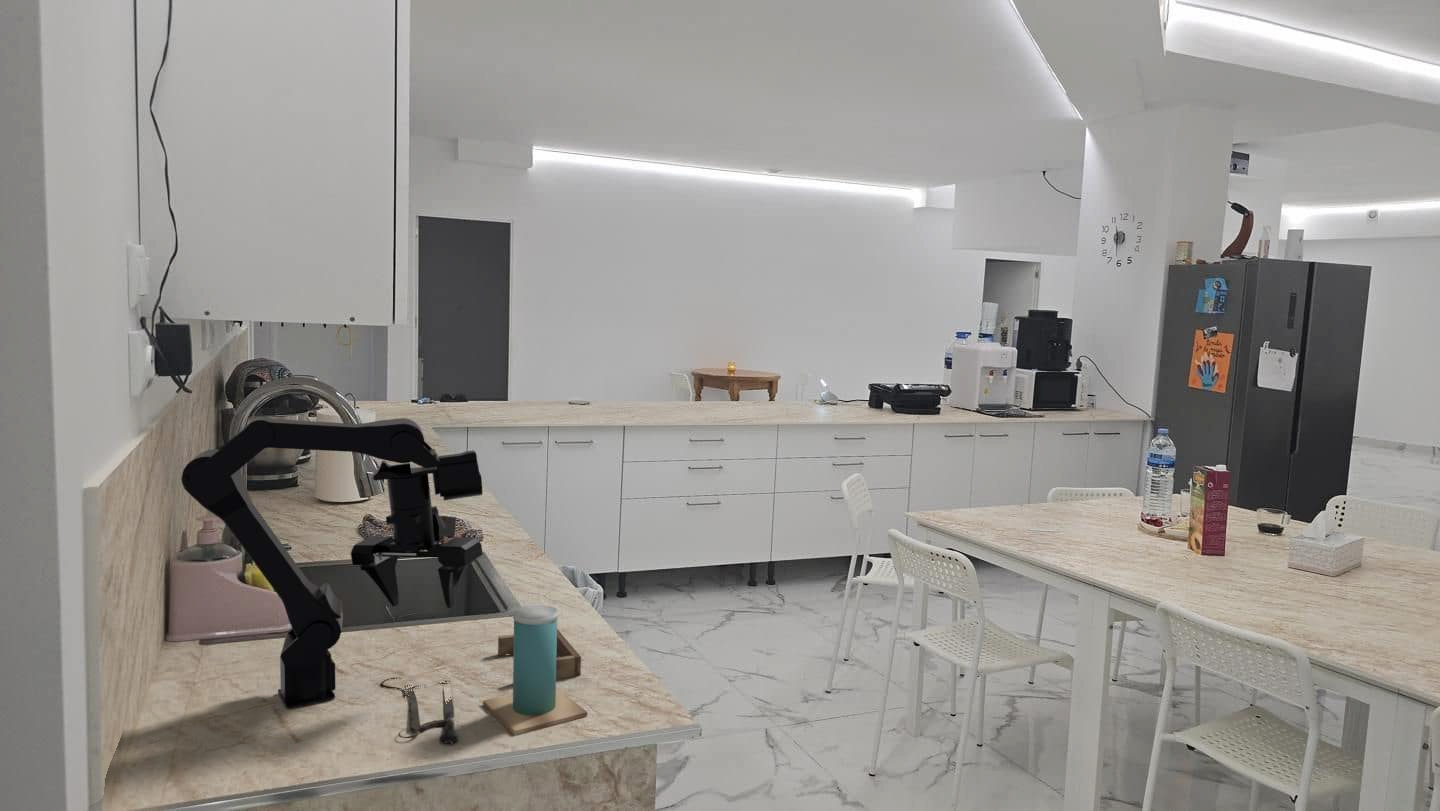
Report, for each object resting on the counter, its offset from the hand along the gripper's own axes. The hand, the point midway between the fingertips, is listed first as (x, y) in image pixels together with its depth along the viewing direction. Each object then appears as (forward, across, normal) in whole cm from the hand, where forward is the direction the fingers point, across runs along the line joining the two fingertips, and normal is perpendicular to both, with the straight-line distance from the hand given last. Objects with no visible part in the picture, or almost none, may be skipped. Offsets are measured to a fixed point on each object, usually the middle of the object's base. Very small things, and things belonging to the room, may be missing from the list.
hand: (422, 606), depth 136 cm
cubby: (+14, -11, -11) cm, 21 cm away
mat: (+14, -18, +3) cm, 23 cm away
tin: (+13, -18, +3) cm, 23 cm away
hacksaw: (+13, -3, +8) cm, 15 cm away
